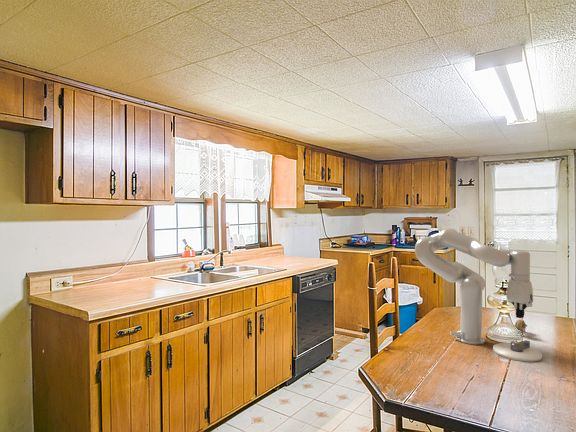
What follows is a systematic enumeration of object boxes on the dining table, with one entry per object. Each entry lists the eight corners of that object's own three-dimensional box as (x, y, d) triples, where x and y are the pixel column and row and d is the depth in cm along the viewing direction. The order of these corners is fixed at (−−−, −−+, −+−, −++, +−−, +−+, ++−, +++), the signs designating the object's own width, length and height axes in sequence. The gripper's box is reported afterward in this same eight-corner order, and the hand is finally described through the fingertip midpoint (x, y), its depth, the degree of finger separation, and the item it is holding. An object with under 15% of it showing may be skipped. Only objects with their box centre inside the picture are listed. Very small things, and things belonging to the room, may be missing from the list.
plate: (505, 360, 169) (505, 357, 169) (485, 345, 188) (485, 342, 188) (551, 362, 168) (551, 359, 168) (527, 347, 187) (527, 343, 187)
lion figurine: (527, 339, 199) (527, 321, 199) (514, 337, 201) (515, 319, 201) (525, 331, 212) (526, 314, 212) (514, 329, 214) (514, 313, 214)
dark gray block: (518, 352, 175) (519, 344, 175) (508, 348, 179) (508, 341, 179) (533, 349, 180) (533, 341, 180) (522, 345, 184) (522, 338, 184)
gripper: (499, 275, 188) (499, 314, 188) (531, 280, 175) (530, 322, 175) (510, 274, 191) (509, 312, 191) (541, 279, 178) (541, 320, 178)
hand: (519, 317), depth 183 cm, fingers closed
